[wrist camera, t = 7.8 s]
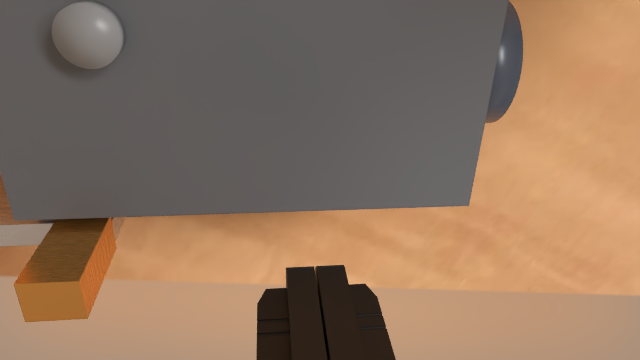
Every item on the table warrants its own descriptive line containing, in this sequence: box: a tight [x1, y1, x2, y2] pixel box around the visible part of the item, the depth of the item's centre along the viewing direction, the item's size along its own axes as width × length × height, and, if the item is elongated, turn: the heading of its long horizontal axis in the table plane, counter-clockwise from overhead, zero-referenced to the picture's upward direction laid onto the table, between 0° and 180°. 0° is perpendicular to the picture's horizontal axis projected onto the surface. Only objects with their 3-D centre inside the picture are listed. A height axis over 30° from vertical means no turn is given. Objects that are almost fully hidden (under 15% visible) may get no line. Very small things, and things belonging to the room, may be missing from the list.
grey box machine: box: [0, 0, 523, 221], centre depth 22 cm, size 29×12×11 cm, turn 88°
